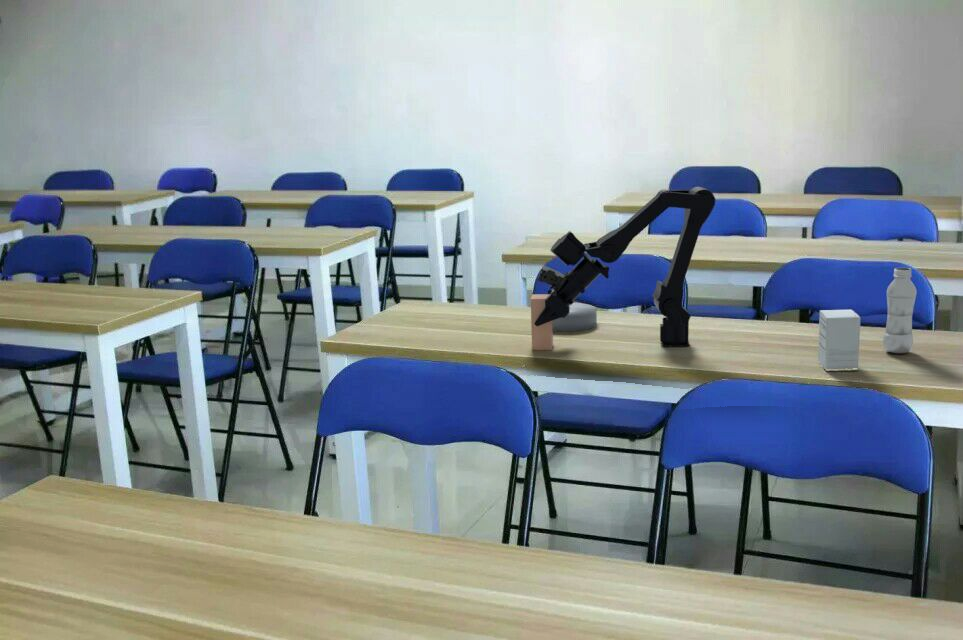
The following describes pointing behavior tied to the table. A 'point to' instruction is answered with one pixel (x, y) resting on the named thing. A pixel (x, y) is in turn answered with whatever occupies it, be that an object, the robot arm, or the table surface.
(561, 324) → the plinth
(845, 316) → the supplement box
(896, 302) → the plastic bottle
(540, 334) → the terracotta block
